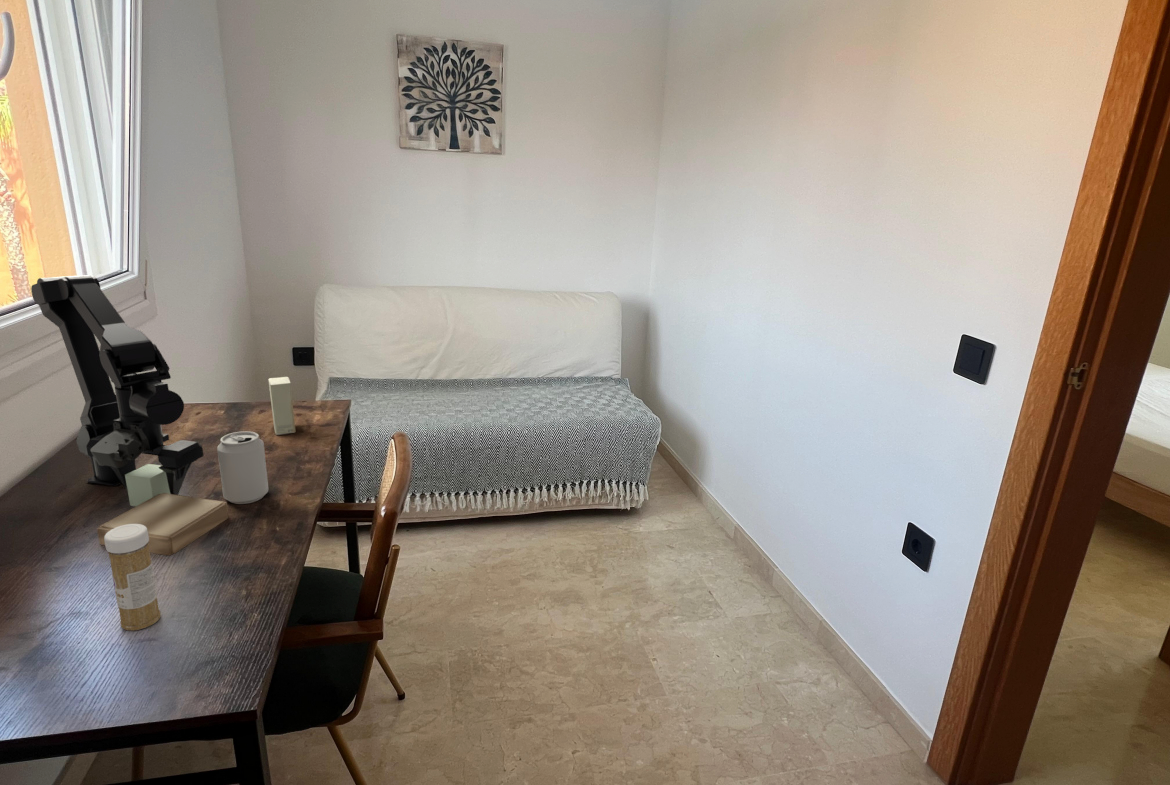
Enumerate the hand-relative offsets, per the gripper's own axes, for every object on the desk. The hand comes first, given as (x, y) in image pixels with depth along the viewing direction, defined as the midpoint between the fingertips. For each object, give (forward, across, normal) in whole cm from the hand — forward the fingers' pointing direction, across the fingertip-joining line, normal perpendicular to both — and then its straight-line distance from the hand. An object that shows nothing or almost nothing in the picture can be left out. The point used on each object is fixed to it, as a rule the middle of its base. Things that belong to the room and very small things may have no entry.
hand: (152, 493), depth 118 cm
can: (+2, +14, +6) cm, 16 cm away
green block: (+2, 0, 0) cm, 2 cm away
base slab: (+2, +10, -8) cm, 13 cm away
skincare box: (+2, 0, +38) cm, 38 cm away
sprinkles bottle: (+2, +25, -29) cm, 38 cm away
